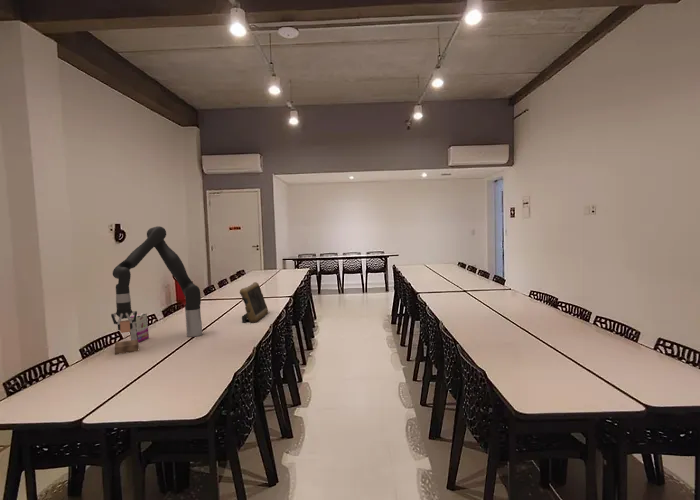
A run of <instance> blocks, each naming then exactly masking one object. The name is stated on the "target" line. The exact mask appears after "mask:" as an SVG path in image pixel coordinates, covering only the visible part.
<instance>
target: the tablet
mask: <svg viewBox="0 0 700 500" xmlns="http://www.w3.org/2000/svg"><path fill="white" fill-rule="evenodd" d="M239 294H240V295H241V296H240V297H241V298H242V301H243V302H244V306H245V308H244V309H245V312H246V313H245V314H244V315H242V316H241V323H242V324H244V323H247V320H248V322H249V323H251V324H255V323H257V322H259V320H261V319H262V318H263V317H264V316H265V315H267V314H268V312H269V309H268V307H267V303H266V301H265V298H264V294H263V292H262V289H261V286H260V285H259V283H258V282H257V281H255V282H253V283H252V284H250V285H249V286H245V287H243V288H241V289H240V290H239ZM247 318H248V319H247Z"/></svg>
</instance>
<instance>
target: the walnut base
mask: <svg viewBox="0 0 700 500" xmlns="http://www.w3.org/2000/svg"><path fill="white" fill-rule="evenodd" d="M138 349H139V343H138V339H137V340H131V339H130V340H125V341H124V340H123V341H119V342H115V343H114V355H120V354H119V353H122V354H127V353H126V352H129V353H134V351H136V352H139V350H138Z"/></svg>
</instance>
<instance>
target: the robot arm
mask: <svg viewBox="0 0 700 500" xmlns="http://www.w3.org/2000/svg"><path fill="white" fill-rule="evenodd" d="M166 237H167V230H166V229H165V228H164V227H163V226H158V225H157V226H154V227H151V228H149V229H148V230H147V231H146V239H145V240H144V241H143V242H142V243H141V244H140V245H139V246H137V247H136V248H135V249H134V250H132V252H131V253H130V254H129V255H127V257H126V258H125V259H124V260H123V261H121V262H120V263H119V264H117V266H115V267H114V268H113V270H112V276H113V278H114V279H116V280H118V282H117V284H115V306H116V312H114V313H111V314H110V315H111V319H112V322H113V324H114V325H117V330H118V331H119V332H121V331H120V322H121V321H122V320H124V319H127V320H129V321H130V330H131V328H133V325H132V323H133V322H135V321H136V316H137V314H138V311H137V310H132V303H131V302H132V300H131V299H132V298H131V293H130V284H131V277H132V276H131V271H130V270H131V269H134V268H136V267H137V266H138V265H139V264H140V263H141V261H143V259H144V258H145V257H146V256H147V254H149V253H150V251H152V250H153V248H155V249H156V251H157V253H158V254H159V256H160V258H161V259H162V261H163V263H164V264H165V266H166V268H167V269H168V271H169V272H170V274H171V275H172V277H174V279H175V280H176V281H177V283H178V285H179V287H180V289H181V291H182V293H183V295H184V296H185V304H184V313H185V327H186V337H188V338H193V337H194V338H195V337H200V336H203V322H202V317H201V316H202V315H201V312H202V311H201V304H202V303H201V302H202V301H201V297H202V296H201V289H200V287H199V286H198V285H196V284H194V282H193V281H192V279H191V278H190V277H189V275H188V273H187V270H186V267H185V265H184V263H183V261H182V259H181V258H180V256H179V255H178V254H177V253H176V252H175V251H174V250H173V249H172V248H171V247H170V246H169V245H168V243H166V241H165V238H166ZM131 315H132V316H134V319H133V320H131V318H130V317H131ZM116 317H118V319H116Z"/></svg>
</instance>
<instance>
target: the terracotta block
mask: <svg viewBox="0 0 700 500" xmlns="http://www.w3.org/2000/svg"><path fill="white" fill-rule="evenodd" d="M119 332H120V334H122V333H123V334H124V333H130V321H129V320H128V319H127V320H121V322H120V331H119Z"/></svg>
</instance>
